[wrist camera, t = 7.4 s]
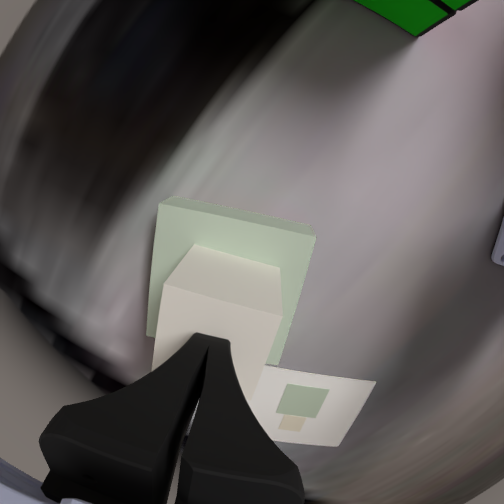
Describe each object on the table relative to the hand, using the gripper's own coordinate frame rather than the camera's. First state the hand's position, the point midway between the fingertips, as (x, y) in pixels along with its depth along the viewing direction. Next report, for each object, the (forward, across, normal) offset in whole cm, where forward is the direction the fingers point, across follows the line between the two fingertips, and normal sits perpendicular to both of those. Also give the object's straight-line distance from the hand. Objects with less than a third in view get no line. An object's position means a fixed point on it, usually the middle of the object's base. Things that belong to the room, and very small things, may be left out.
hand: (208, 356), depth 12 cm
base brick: (+9, 0, 0) cm, 9 cm away
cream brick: (+6, 0, 0) cm, 6 cm away
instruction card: (+8, -7, +10) cm, 15 cm away
